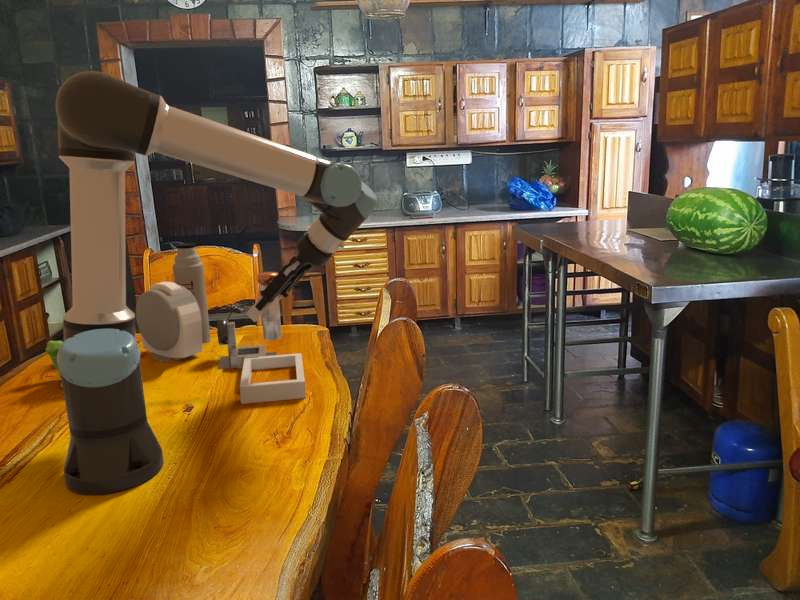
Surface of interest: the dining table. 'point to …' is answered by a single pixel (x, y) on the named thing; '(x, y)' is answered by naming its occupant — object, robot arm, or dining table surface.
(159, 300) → the beige rounded housing
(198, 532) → the dining table surface
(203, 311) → the thermos bottle
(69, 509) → the dining table surface
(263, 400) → the tray
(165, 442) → the dining table surface
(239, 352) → the block
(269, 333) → the pin
